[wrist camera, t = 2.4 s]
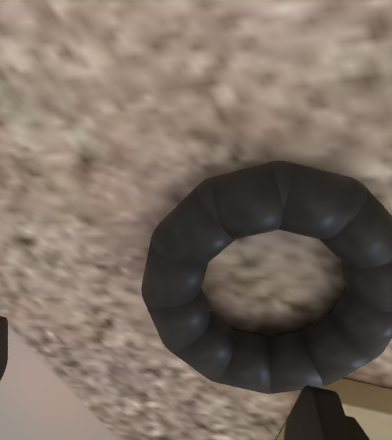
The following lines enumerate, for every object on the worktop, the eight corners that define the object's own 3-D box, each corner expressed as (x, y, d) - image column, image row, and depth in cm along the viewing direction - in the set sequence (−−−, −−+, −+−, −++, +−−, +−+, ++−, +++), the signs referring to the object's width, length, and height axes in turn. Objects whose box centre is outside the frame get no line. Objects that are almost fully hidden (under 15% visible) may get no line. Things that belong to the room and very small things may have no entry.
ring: (176, 126, 13) (167, 143, 11) (446, 193, 13) (486, 222, 11) (133, 334, 17) (121, 373, 15) (337, 380, 17) (351, 425, 15)
